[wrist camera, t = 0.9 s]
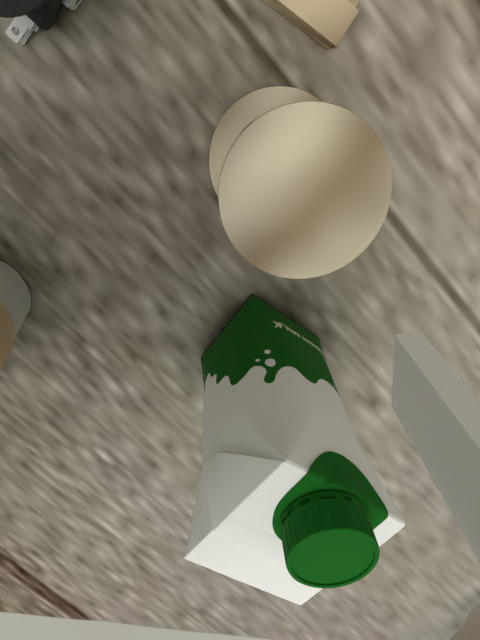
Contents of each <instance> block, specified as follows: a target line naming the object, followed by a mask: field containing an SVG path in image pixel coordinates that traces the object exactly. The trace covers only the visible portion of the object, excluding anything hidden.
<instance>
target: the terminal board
mask: <svg viewBox="0 0 480 640" xmlns="http://www.w3.org/2000/svg"><path fill="white" fill-rule="evenodd" d="M263 1H264V2H266V3H267V4H268V5H269V6H271V7H272V8H273V9H275V10H276V11H277V12H278V13H280V14H281V15H282V16H283V17H285V18H286V19H287V20H289V21H290V22H291V23H292V24H294V25H295V26H296V27H298V28H299V29H300V30H301V31H303V32H304V33H305V34H307V35H308V36H309V37H310V38H312V39H313V40H314V41H315V42H317V43H318V44H319V45H321V46H322V47H323V48H324V49H326V50H327V49H331V48H334V47H337V46H338V44H339V42H340V41H341V39H342V38H343V36H344V34H345V33H346V31H347V29H348V28H349V26H350V25H351V23H352V21H353V20H354V18H355V16H356V15H357V13H358V12H359V9H357V8H356V6H357V4H358V3H359V1H360V0H263Z"/></svg>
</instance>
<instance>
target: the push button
mask: <svg viewBox="0 0 480 640" xmlns="http://www.w3.org/2000/svg"><path fill="white" fill-rule="evenodd" d="M76 1H77V0H0V17H6V18H8V17H14V19H13V20H12V22H11V23H10V25H9V27H8V28H7V30H6V31H5V32H6V35H7V36H9V37H10V38H11V39H12V40H13V41H14V42H15V43H19V42H20V43H21V44H25V43H26V41H27V40H28V38H29V37H30V35H31V34H32V32H33V31H35V32H37V30H38V29H39V28H40V29H43V30H49V29H50V28H51V27H52V25H53V24H54V22H55V19H56V15H57V14H58V12H59V11H60V10H61V8H62V7H63V5H65V6H66V7H67V8H69V9H71V10H73V11H74V10H75V9H77V7H78V6H79V4H80V3H81V1H82V0H78V2H77V3H76ZM75 3H76V4H75ZM14 27H15V29H14V30H13V31H12V29H13V28H14ZM19 31H20V33H19ZM25 33H26V34H25ZM24 34H25V36H24ZM23 36H24V37H23Z"/></svg>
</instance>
